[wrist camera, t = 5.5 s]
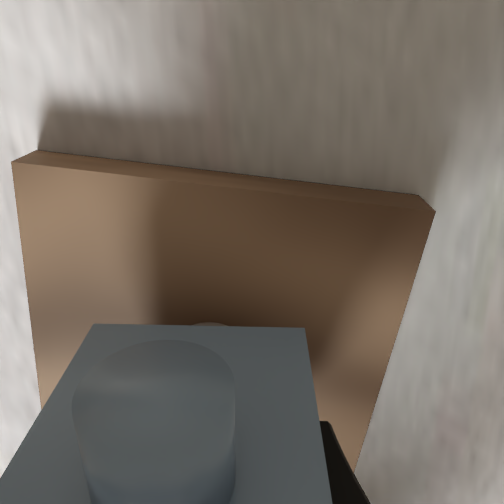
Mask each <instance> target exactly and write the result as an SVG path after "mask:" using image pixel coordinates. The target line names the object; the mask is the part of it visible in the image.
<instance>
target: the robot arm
mask: <svg viewBox="0 0 504 504" xmlns="http://www.w3.org/2000/svg"><path fill="white" fill-rule="evenodd" d="M320 428H321V434H322V440H323V447H324V453H325V460H326V466H327V472H328V479H329V485H330V491H331V498H332V504H370V502H369V500H368V498H367V496H366V495H365V493H364V491H363V489H362V488H361V486H360V484H359V482H358V480H357V479H356V477H355V475H354V473H353V471H352V469H351V467H350V465H349V463H348V461H347V459H346V457H345V455H344V453H343V451H342V449H341V447H340V444H339V442H338V440H337V438H336V435H335V433H334V430H333V428H332V425H331V424H330V423H329V422H328V421H320Z"/></svg>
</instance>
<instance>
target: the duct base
mask: <svg viewBox="0 0 504 504" xmlns="http://www.w3.org/2000/svg"><path fill="white" fill-rule="evenodd" d="M11 164H12V173H13V181H14V189H15V197H16V205H17V213H18V222H19V230H20V238H21V246H22V254H23V262H24V271H25V279H26V287H27V295H28V303H29V312H30V320H31V328H32V336H33V344H34V352H35V361H36V369H37V377H38V385H39V393H40V402H41V410H42V408H43V407H44V405H45V403H46V402H47V400H48V398H49V397H50V395H51V394H52V392H53V390H54V389H55V387H56V385H57V384H58V382H59V380H60V379H61V377H62V375H63V374H64V372H65V370H66V369H67V367H68V365H69V364H70V362H71V360H72V359H73V357H74V355H75V354H76V352H77V350H78V349H79V347H80V345H81V344H82V342H83V340H84V339H85V337H86V335H87V334H88V332H89V330H90V329H91V327H92V325H93V324H142V325H191V326H240V327H289V328H305V333H306V339H307V345H308V352H309V358H310V364H311V371H312V377H313V383H314V390H315V396H316V402H317V409H318V415H319V421H328V422H329V423H330V424H331V425H332V428H333V430H334V433H335V435H336V438H337V440H338V442H339V444H340V447H341V449H342V451H343V453H344V455H345V457H346V459H347V461H348V463H349V465H350V467H351V469H352V471H353V473H354V470H355V467H356V464H357V461H358V458H359V454H360V451H361V448H362V445H363V442H364V439H365V435H366V432H367V429H368V426H369V423H370V419H371V416H372V413H373V410H374V407H375V403H376V400H377V397H378V394H379V391H380V388H381V384H382V381H383V378H384V375H385V372H386V368H387V365H388V362H389V359H390V356H391V352H392V349H393V346H394V343H395V340H396V336H397V333H398V330H399V327H400V324H401V321H402V317H403V314H404V311H405V308H406V305H407V301H408V298H409V295H410V292H411V289H412V285H413V282H414V279H415V276H416V273H417V270H418V266H419V263H420V260H421V257H422V254H423V250H424V247H425V244H426V241H427V238H428V234H429V231H430V228H431V225H432V222H433V219H434V215H435V212H436V211H435V210H434V209H433V208H432V207H431V206H430V205H428V204H427V203H426V202H425V201H424V200H423V199H422V198H421V197H420V196H419V195H413V194H404V193H396V192H387V191H379V190H370V189H362V188H353V187H345V186H336V185H328V184H319V183H311V182H302V181H294V180H285V179H277V178H268V177H260V176H251V175H243V174H234V173H226V172H217V171H209V170H200V169H192V168H183V167H175V166H166V165H158V164H149V163H141V162H132V161H124V160H115V159H107V158H98V157H90V156H81V155H73V154H64V153H56V152H47V151H39V150H36V151H34V152H31V153H29V154H27V155H25V156H23V157H21V158H18V159H16V160H14V161H12V162H11Z"/></svg>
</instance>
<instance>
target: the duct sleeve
mask: <svg viewBox="0 0 504 504" xmlns="http://www.w3.org/2000/svg"><path fill="white" fill-rule="evenodd" d="M0 504H332V498H331V491H330V485H329V479H328V472H327V466H326V460H325V453H324V447H323V440H322V434H321V428H320V421H319V415H318V409H317V402H316V396H315V390H314V383H313V377H312V371H311V364H310V358H309V352H308V345H307V339H306V333H305V328H289V327H240V326H191V325H142V324H93V325H92V327H91V329H90V330H89V332H88V334H87V335H86V337H85V339H84V340H83V342H82V344H81V345H80V347H79V349H78V350H77V352H76V354H75V355H74V357H73V359H72V360H71V362H70V364H69V365H68V367H67V369H66V370H65V372H64V374H63V375H62V377H61V379H60V380H59V382H58V384H57V385H56V387H55V389H54V390H53V392H52V394H51V395H50V397H49V398H48V400H47V402H46V403H45V405H44V407H43V408H42V410H41V412H40V413H39V415H38V417H37V418H36V420H35V422H34V423H33V425H32V427H31V428H30V430H29V432H28V433H27V435H26V437H25V438H24V440H23V442H22V443H21V445H20V447H19V448H18V450H17V452H16V453H15V455H14V457H13V458H12V460H11V462H10V463H9V465H8V467H7V468H6V470H5V472H4V473H3V475H2V477H1V478H0Z"/></svg>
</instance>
